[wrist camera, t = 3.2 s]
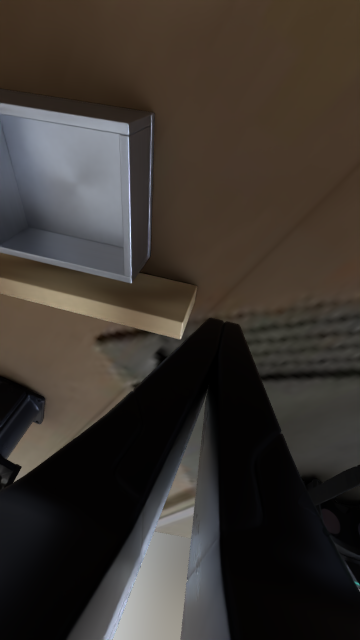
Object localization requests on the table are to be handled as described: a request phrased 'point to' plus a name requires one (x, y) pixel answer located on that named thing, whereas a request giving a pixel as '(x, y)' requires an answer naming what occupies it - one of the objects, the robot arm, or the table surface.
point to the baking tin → (76, 184)
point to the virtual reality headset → (340, 516)
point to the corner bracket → (101, 295)
